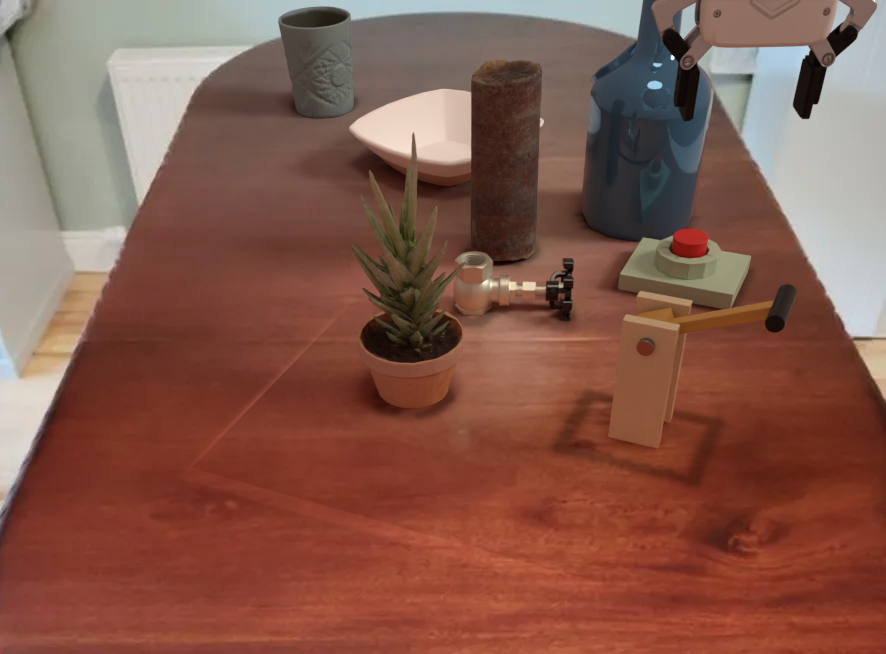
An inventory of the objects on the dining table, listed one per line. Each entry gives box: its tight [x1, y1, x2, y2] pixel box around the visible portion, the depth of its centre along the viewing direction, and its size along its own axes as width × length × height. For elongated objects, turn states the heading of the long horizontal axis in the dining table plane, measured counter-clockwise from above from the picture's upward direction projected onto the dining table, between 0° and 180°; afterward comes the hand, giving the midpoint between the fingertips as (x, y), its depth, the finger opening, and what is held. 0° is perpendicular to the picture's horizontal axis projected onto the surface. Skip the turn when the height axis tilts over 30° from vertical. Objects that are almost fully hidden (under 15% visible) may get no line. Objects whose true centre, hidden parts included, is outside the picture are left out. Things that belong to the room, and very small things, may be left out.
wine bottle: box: [580, 0, 715, 242], centre depth 108 cm, size 14×13×30 cm
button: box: [671, 228, 709, 258], centre depth 105 cm, size 4×4×2 cm
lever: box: [638, 283, 798, 334], centre depth 78 cm, size 12×5×2 cm, turn 66°
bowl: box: [348, 88, 545, 187], centre depth 130 cm, size 22×22×5 cm
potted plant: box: [351, 132, 466, 409], centre depth 85 cm, size 10×10×25 cm
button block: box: [617, 235, 752, 310], centre depth 107 cm, size 12×9×4 cm
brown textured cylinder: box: [470, 59, 543, 262], centre depth 106 cm, size 8×7×20 cm
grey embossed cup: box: [277, 5, 355, 119], centre depth 143 cm, size 10×10×12 cm
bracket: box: [608, 291, 693, 449], centre depth 84 cm, size 12×9×13 cm
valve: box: [452, 250, 575, 322], centre depth 101 cm, size 7×7×12 cm
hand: (742, 114), depth 84 cm, fingers open, 9 cm apart
